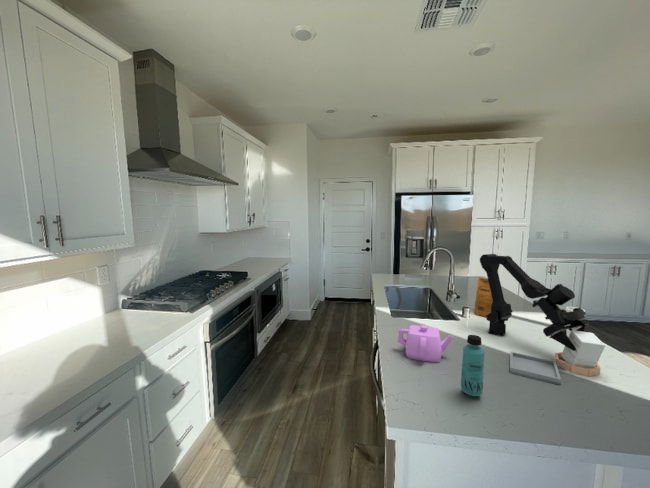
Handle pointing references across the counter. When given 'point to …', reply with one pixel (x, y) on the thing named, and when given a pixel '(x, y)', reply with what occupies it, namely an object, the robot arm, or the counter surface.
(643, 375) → the counter surface
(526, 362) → the tray
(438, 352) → the teakettle
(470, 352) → the beverage bottle
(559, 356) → the segmented octagonal ring
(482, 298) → the coffee package
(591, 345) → the supplement box
